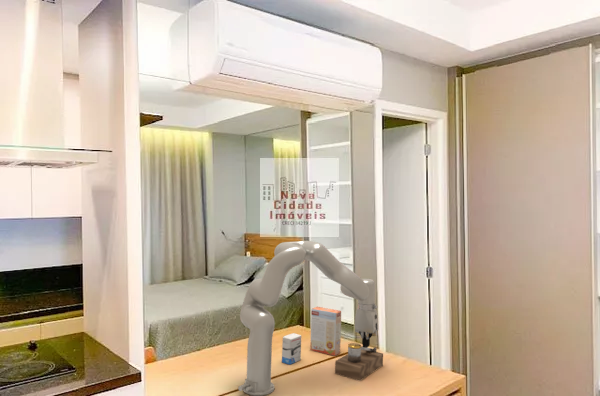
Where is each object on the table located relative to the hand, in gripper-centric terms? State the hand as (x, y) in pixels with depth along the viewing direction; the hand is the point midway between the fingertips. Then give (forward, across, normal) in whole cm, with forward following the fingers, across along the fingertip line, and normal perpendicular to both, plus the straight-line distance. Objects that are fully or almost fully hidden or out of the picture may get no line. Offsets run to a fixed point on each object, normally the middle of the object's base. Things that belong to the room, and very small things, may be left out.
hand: (365, 346), depth 207 cm
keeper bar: (+2, 0, -1) cm, 2 cm away
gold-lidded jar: (+8, 0, +10) cm, 13 cm away
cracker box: (+9, +24, -4) cm, 26 cm away
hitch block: (+9, 0, +5) cm, 10 cm away
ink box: (+8, +30, +17) cm, 35 cm away
